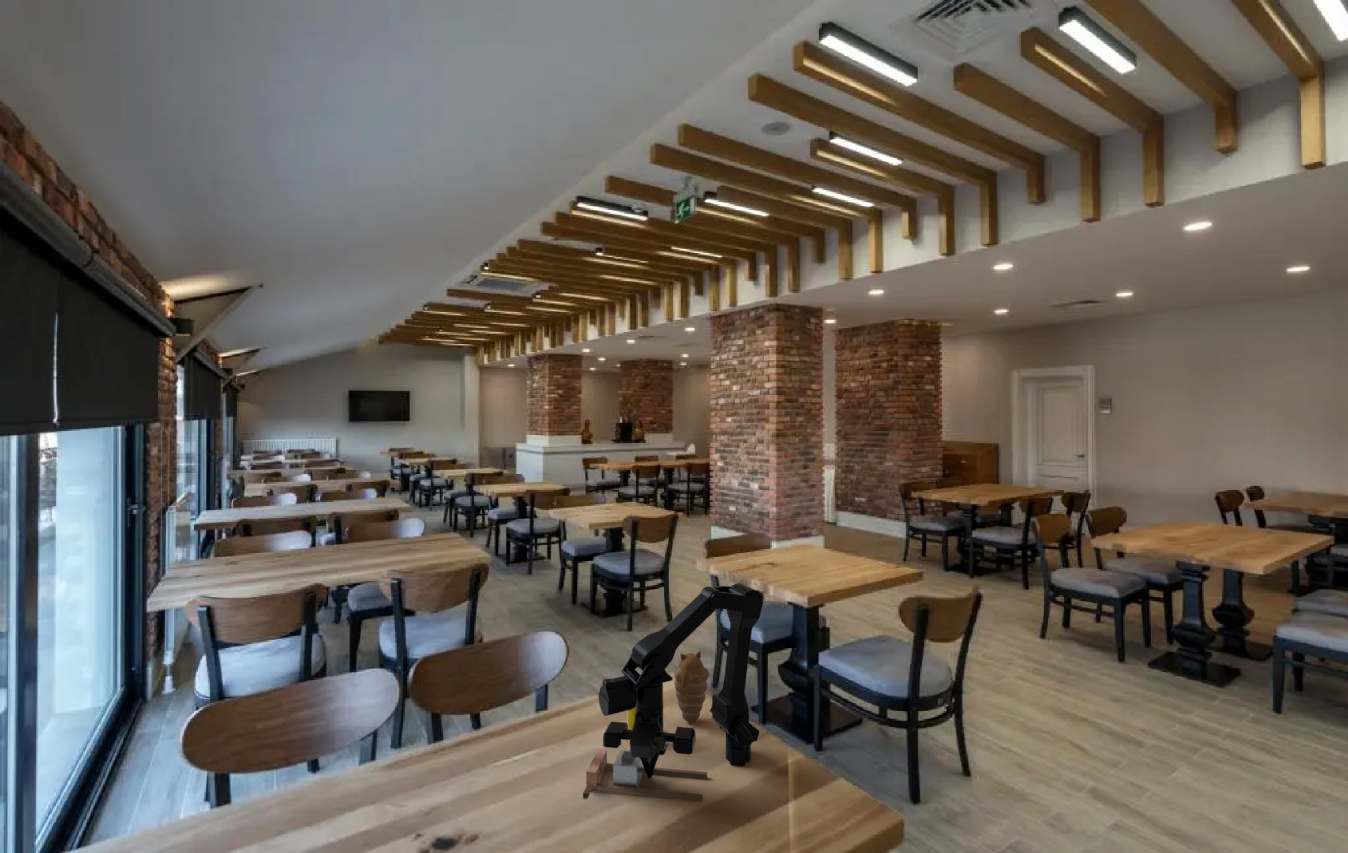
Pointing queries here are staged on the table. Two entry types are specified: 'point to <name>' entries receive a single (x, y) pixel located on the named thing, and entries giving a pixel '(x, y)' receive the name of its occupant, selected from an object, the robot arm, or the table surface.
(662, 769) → the guide board
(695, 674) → the cat ice cream
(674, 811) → the table surface
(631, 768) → the block
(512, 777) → the table surface
